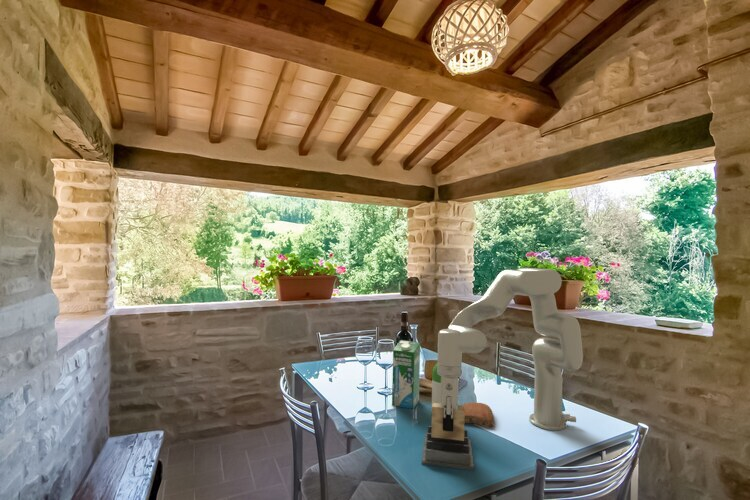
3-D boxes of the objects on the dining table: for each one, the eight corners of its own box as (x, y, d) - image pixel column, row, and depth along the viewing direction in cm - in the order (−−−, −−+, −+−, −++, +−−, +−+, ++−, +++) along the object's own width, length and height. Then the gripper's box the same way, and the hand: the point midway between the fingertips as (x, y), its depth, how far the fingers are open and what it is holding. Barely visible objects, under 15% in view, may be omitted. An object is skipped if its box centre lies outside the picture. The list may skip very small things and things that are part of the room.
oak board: (463, 436, 119) (464, 405, 119) (464, 440, 116) (464, 409, 116) (431, 432, 121) (432, 402, 121) (431, 437, 118) (432, 406, 118)
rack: (470, 441, 126) (470, 429, 126) (473, 470, 109) (474, 456, 109) (424, 436, 128) (425, 424, 128) (421, 463, 112) (422, 450, 112)
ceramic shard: (454, 395, 154) (491, 404, 151) (451, 411, 153) (489, 421, 150) (454, 404, 140) (495, 414, 136) (451, 421, 139) (493, 433, 136)
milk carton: (391, 405, 155) (393, 344, 155) (398, 397, 163) (400, 339, 163) (413, 409, 151) (414, 346, 152) (419, 401, 160) (420, 342, 160)
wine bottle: (456, 424, 138) (458, 342, 138) (436, 427, 136) (439, 343, 136) (446, 415, 145) (448, 338, 146) (427, 417, 143) (429, 339, 143)
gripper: (462, 378, 110) (461, 441, 110) (460, 363, 126) (459, 418, 126) (436, 376, 112) (435, 438, 111) (437, 361, 128) (436, 415, 127)
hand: (447, 427), depth 119 cm, fingers closed on oak board, 3 cm apart
